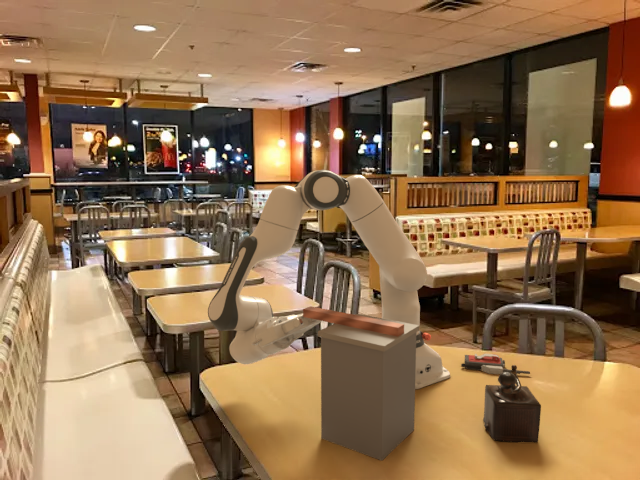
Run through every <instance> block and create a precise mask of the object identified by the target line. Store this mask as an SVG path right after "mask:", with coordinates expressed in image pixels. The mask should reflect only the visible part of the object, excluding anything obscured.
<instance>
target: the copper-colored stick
mask: <svg viewBox="0 0 640 480" xmlns="http://www.w3.org/2000/svg"><path fill="white" fill-rule="evenodd" d="M302 313H303V317H306V318H311V319H316V320H321V322H326V323H331V324H340V325H345V326H349V327H354V328H359V329H364V330H369V331H373V332H378V333H383V334H388V335H393V336H397V337H398V336H400V335H401V334H403V333H404V324H400V323H395V322H389V321H384V320H379V319H374V318H369V317H363V316H358V315H355V314H353V313H347V312H341V311H337V310H331V309H327V308H320V307H315V306H307V307H305V308H302Z"/></svg>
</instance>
